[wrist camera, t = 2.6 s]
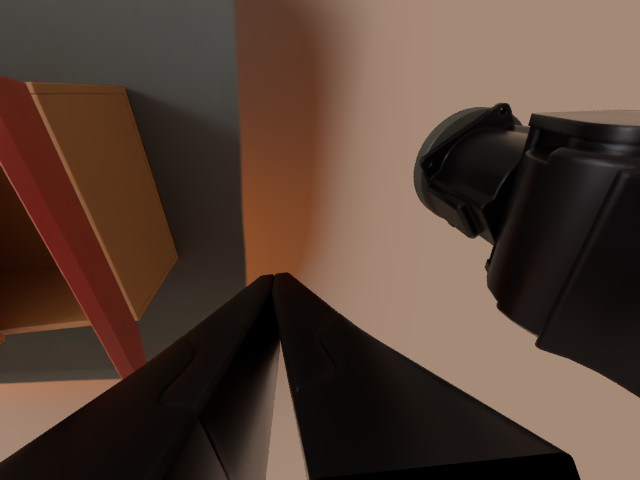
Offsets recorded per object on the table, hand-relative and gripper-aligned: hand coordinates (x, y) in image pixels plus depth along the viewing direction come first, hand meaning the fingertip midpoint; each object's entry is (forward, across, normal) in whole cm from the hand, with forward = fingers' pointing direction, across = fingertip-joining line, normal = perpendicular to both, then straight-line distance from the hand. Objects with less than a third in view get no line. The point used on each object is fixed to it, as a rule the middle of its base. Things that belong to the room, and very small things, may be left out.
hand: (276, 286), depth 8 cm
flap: (+3, -7, 0) cm, 8 cm away
